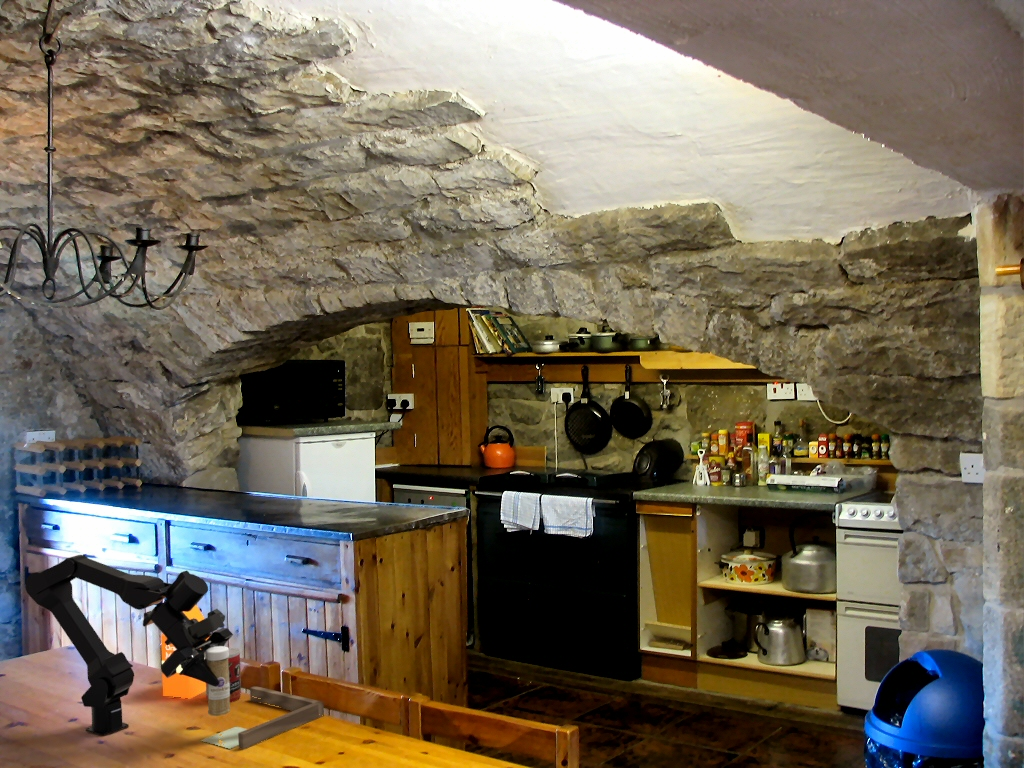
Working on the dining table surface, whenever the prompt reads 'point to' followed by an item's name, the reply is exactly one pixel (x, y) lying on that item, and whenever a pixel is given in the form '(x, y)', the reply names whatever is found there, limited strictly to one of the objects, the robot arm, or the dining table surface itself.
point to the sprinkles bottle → (221, 693)
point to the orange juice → (181, 683)
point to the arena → (300, 715)
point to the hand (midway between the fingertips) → (224, 681)
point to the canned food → (233, 674)
